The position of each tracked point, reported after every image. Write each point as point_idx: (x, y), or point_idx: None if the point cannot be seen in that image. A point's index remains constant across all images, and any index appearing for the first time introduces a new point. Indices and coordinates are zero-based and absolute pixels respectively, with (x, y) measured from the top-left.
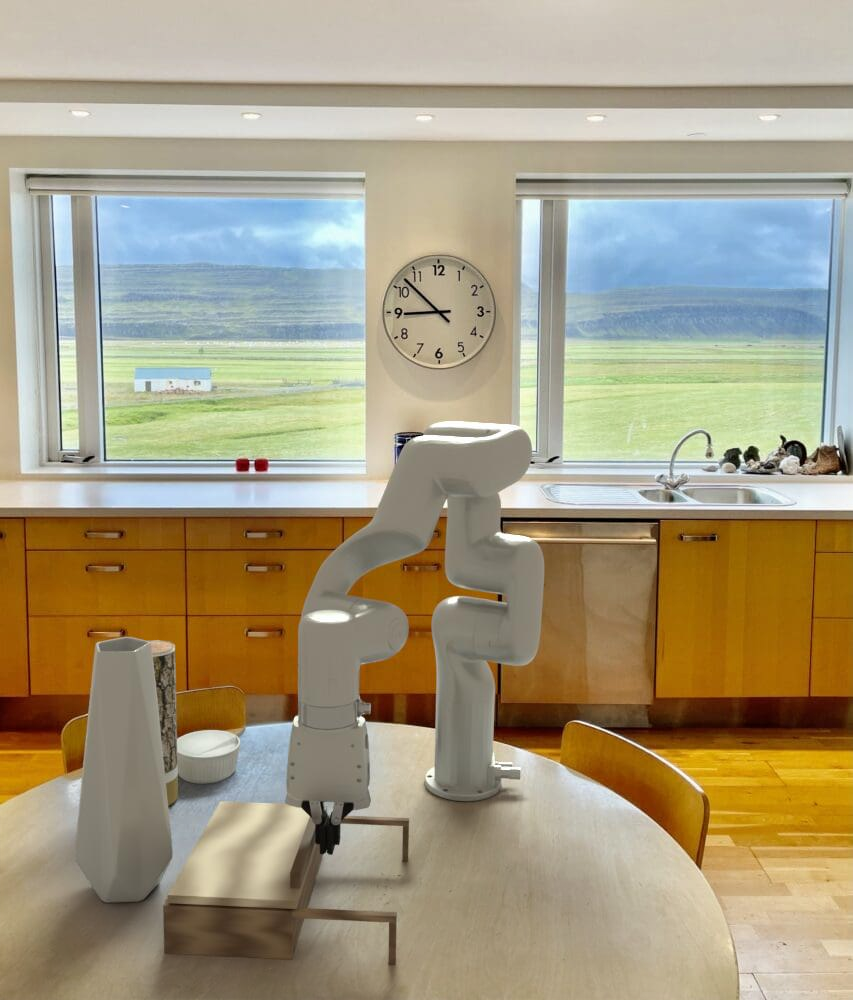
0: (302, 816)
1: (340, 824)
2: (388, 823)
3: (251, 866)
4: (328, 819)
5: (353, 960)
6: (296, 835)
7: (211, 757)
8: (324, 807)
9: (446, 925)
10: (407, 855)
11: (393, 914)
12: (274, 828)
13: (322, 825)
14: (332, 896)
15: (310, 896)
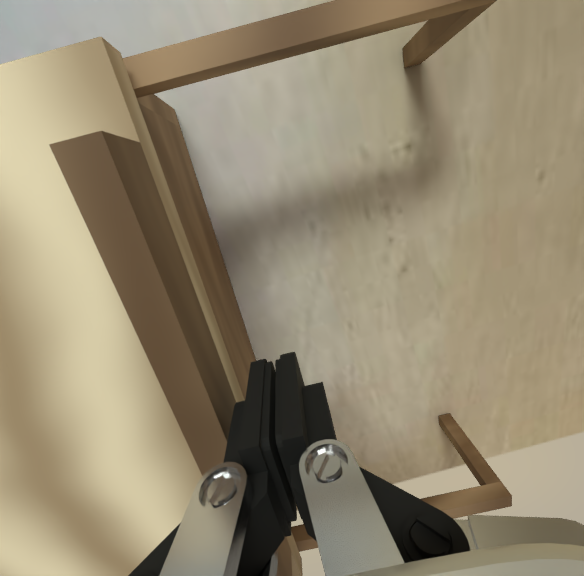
0: (58, 197)
1: (331, 422)
2: (411, 20)
3: (116, 520)
4: (274, 448)
5: (382, 432)
6: (133, 347)
7: None
8: (244, 501)
9: (532, 303)
10: (427, 55)
11: (505, 503)
12: (22, 328)
13: (284, 535)
14: (281, 285)
15: (237, 305)
